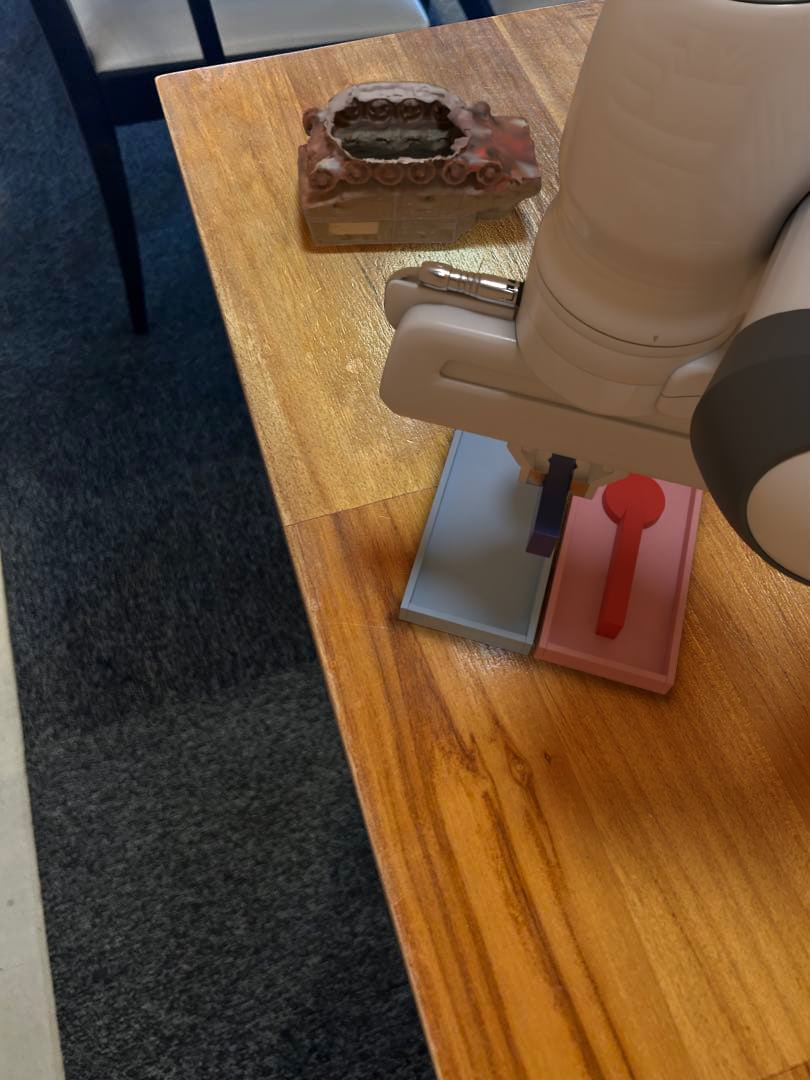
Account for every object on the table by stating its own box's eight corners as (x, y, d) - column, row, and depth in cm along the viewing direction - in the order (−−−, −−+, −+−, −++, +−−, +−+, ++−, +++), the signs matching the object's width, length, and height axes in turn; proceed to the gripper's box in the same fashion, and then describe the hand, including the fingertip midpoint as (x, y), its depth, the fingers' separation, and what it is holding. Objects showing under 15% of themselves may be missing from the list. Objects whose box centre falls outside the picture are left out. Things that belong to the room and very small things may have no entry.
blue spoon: (576, 565, 52) (587, 545, 50) (498, 545, 52) (505, 524, 50) (611, 380, 58) (622, 354, 56) (541, 362, 59) (549, 337, 56)
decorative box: (303, 147, 86) (299, 47, 77) (523, 161, 87) (544, 64, 78) (292, 255, 80) (287, 159, 71) (530, 269, 80) (553, 177, 72)
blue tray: (576, 443, 72) (582, 428, 71) (527, 656, 64) (532, 644, 62) (462, 412, 73) (465, 397, 71) (398, 619, 65) (400, 607, 63)
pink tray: (698, 475, 72) (707, 461, 70) (664, 695, 63) (673, 685, 61) (582, 444, 72) (588, 429, 71) (533, 657, 64) (538, 646, 62)
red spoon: (636, 646, 64) (646, 633, 62) (573, 628, 65) (581, 614, 62) (665, 487, 70) (675, 470, 68) (607, 471, 71) (616, 453, 69)
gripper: (368, 307, 39) (359, 482, 52) (859, 425, 38) (731, 575, 51) (405, 203, 42) (388, 391, 55) (861, 310, 41) (740, 478, 53)
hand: (556, 480), depth 53 cm, fingers closed on blue spoon, 1 cm apart
